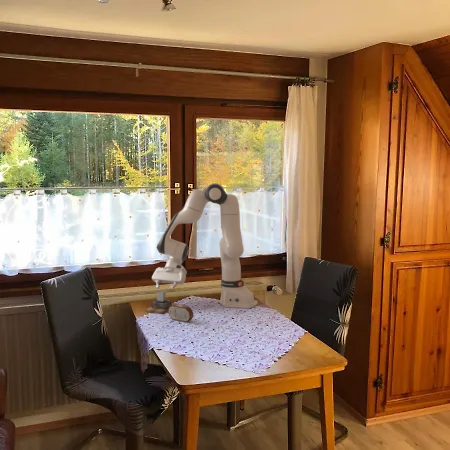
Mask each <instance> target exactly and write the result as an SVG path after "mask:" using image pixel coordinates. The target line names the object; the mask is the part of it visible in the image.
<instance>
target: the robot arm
mask: <svg viewBox="0 0 450 450" xmlns="http://www.w3.org/2000/svg"><path fill="white" fill-rule="evenodd" d="M208 203H212V204H217V205H219V209H220V229H221V234H222V237H221V238H220V240H219V253H220V262H221V280H220V281H221V282H220V286H221V287H220V288H221V293H220V299H219V304H220V305H222V306H223V307H224V308H238V309H239V308H240V309H252V308H254V307H255V306H257V305H258V300H255V297H254V293H253V292H252V291H251V290H250V289H249V288H247V287H246V286H245V284H244V283H245V280H242V272H241V271H242V269H241V268H242V267H241V262H240V257H241V256H242V255H243V254H244V251H245V249H244V248H245V247H244V245H243V243H244V242H243V236H242V230H241V217H240V215H241V214H240V204H239V199H238V197H237V196H236V195H235V194H230V193H227V192H226V191H225V188H224V186H222V184H220V183H217V182H213V183H210V184H209V185H207V186H206V187H205V188H204V189H203V190H202V189H199V188H198V189H196V188H195V189H193V190H191V192H190V194H189V195H188V196H187V199H186V201H185V204H184V206H183V207H182V209H181V210H180V211H177V212H176V213H175V214H174V215H173V217H172V219H171V220H170V222H169V224H168V225H167V227H166V228H165V231H164V232H163V234H162V236H161V237H160V238H159V240H158V241H157V243H156V250H157V252H158V253H160V254H162V255H166V256H169V257H168V259H167V261H166V263H165V266H164V267H157V268H156V269H155V270H154V272H153V274H152V276H151V280H152V281H153V282H154V283H155V284H156V285H155V289H160V287H161V286H160V285H159V284H160V283H164V284H172V285H170V287H169V289H170V291H174V290H175V288H176V287H177V286H178V285H184V284H185V281H186V278H187V274H188V273H187V272H188V271H187V270H186V268H185V267H184V266H183V265H182V263H183V262H184V261H186V259H187V257H188V254H189V252H190V248H189V246H188V245H187V244H186V243H184V242H181V241H178V240H176V239H173V238H171V235H172V234H173V233H174V232H173V231H174V230H175V229H176V227H177V226H178V225H181V224H194V223H197V222H198V221H200V219H201V217H202V215H203V212H204V211H205V208H206V205H207V204H208Z"/></svg>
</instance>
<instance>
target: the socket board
mask: <svg viewBox="0 0 450 450" xmlns="http://www.w3.org/2000/svg"><path fill="white" fill-rule="evenodd" d="M150 303H151V304H150V307H148V308H146V309H145V310H144V312H145V313H150V314H151V313H152V314H159V315H164V314H165V313H167V312H168V308H169V307H170V306H171V305H173V304H177V303H173V301H172V300H170V299H166V303H157V299H155V300H153V301H151V302H150Z"/></svg>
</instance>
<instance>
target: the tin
mask: <svg viewBox="0 0 450 450" xmlns="http://www.w3.org/2000/svg"><path fill="white" fill-rule="evenodd" d="M193 311H194V310H192V308H191V307H190V306H188V305H185V304H179V303H176V304H173V305H171V306H170V307H169V308H168V311H167V312H168V316H169V317H170V318H171V319H172V320H174V321H178V322H184V323H187V322H191V321H192V320H193V318H194V312H193Z"/></svg>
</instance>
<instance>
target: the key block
mask: <svg viewBox="0 0 450 450" xmlns="http://www.w3.org/2000/svg"><path fill="white" fill-rule="evenodd" d="M156 300H157V303H166V300H167V291H162V290H160V291H157V292H156Z"/></svg>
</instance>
